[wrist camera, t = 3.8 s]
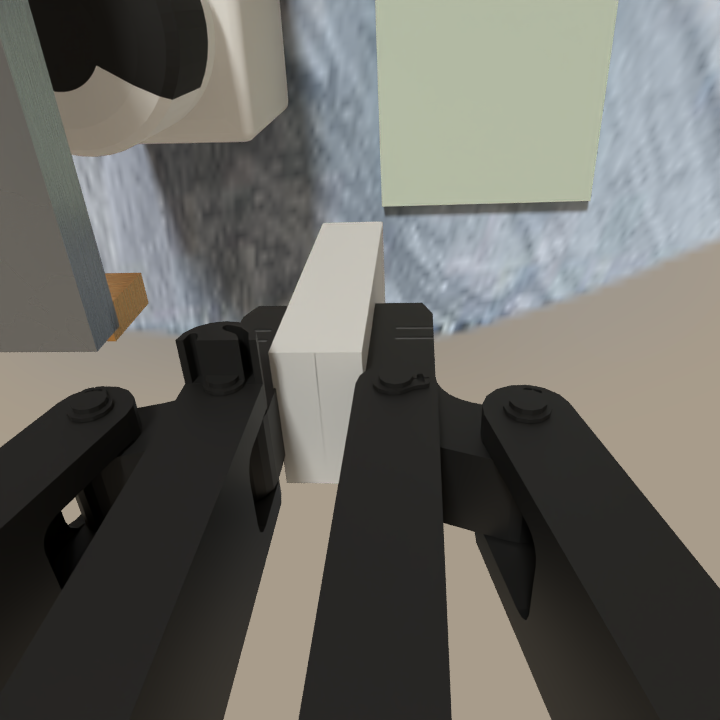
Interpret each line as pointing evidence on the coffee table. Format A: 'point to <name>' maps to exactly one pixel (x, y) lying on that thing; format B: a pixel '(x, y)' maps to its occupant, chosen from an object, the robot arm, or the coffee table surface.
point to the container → (162, 70)
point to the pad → (491, 99)
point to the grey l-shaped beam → (48, 216)
